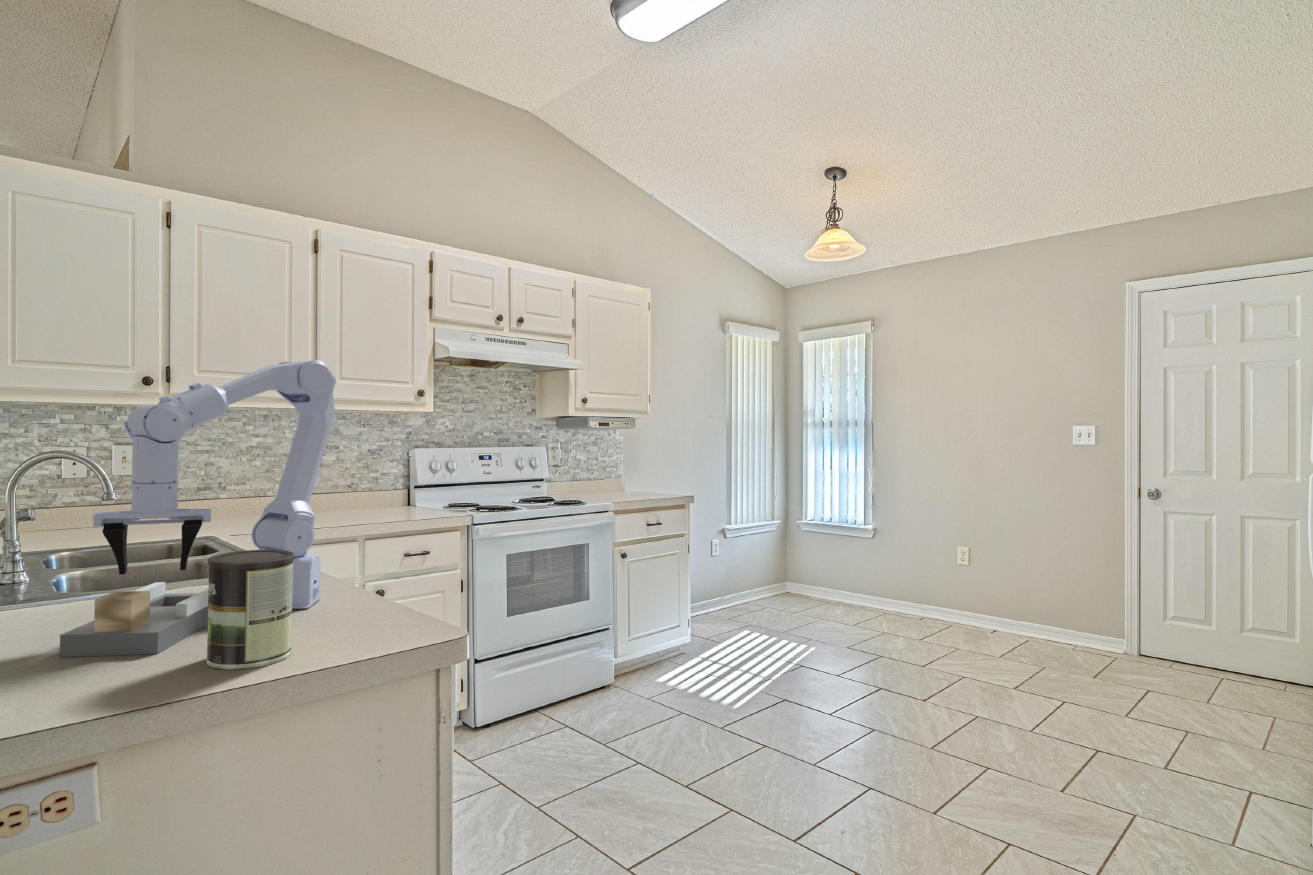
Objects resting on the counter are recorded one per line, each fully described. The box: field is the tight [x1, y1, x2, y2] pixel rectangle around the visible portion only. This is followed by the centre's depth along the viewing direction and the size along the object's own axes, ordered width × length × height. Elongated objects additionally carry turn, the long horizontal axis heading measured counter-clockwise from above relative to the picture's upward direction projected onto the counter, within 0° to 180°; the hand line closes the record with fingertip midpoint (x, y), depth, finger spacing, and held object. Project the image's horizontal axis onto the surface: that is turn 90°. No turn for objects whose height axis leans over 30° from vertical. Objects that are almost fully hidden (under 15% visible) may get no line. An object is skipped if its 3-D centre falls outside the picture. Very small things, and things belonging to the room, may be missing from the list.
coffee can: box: [205, 549, 294, 671], centre depth 95 cm, size 10×10×14 cm
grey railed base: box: [59, 581, 209, 658], centre depth 107 cm, size 12×24×5 cm, turn 10°
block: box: [93, 590, 150, 632], centre depth 98 cm, size 5×5×5 cm
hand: (153, 571), depth 106 cm, fingers open, 7 cm apart
